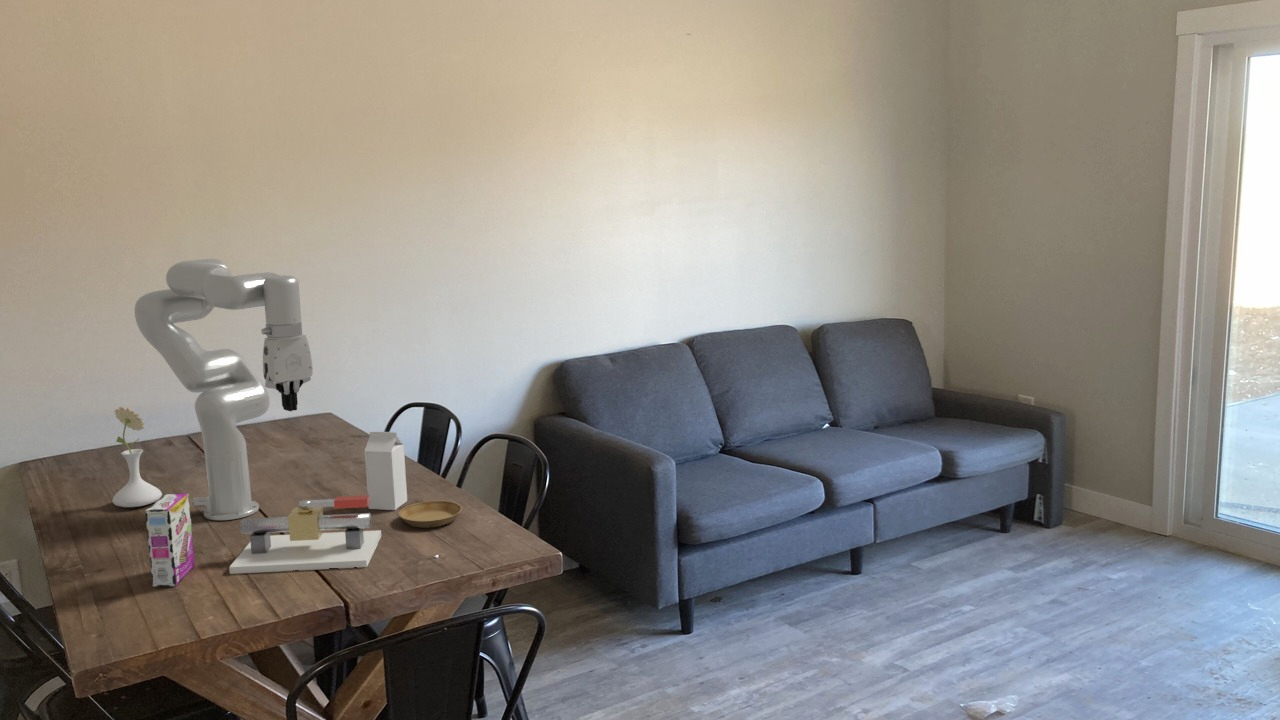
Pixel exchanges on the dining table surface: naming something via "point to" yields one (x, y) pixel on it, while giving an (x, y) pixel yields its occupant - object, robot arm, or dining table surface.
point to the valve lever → (338, 502)
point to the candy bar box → (170, 540)
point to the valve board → (307, 554)
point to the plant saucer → (430, 513)
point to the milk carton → (385, 471)
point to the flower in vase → (133, 468)
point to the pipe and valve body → (305, 527)
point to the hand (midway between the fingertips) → (290, 409)
